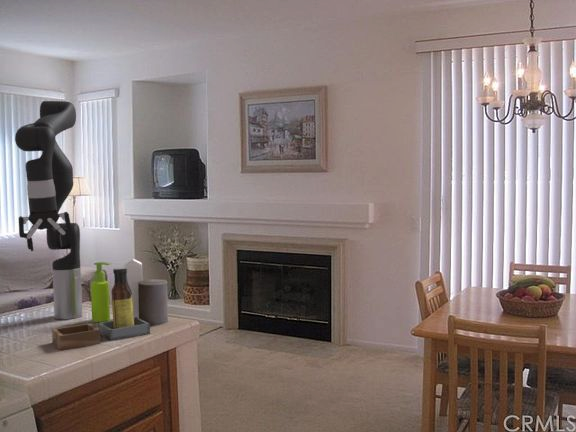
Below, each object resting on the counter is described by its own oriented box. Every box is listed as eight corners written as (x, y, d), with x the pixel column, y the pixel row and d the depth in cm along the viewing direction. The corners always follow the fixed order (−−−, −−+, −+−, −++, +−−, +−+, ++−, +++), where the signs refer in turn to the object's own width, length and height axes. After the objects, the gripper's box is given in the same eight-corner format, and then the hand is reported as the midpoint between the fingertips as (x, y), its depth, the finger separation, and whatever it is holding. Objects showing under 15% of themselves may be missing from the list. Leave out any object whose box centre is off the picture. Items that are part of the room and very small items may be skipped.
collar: (52, 342, 166) (51, 329, 166) (90, 336, 173) (89, 323, 172) (60, 350, 158) (60, 336, 158) (100, 343, 165) (99, 329, 164)
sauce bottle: (138, 330, 176) (136, 267, 175) (122, 335, 171) (120, 270, 170) (124, 327, 180) (122, 266, 179) (108, 332, 175) (106, 268, 173)
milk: (126, 320, 192) (123, 256, 191) (125, 316, 198) (123, 254, 197) (144, 319, 194) (141, 255, 193) (143, 315, 200) (141, 253, 199)
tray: (98, 332, 177) (98, 322, 177) (136, 326, 184) (136, 317, 184) (110, 340, 168) (109, 330, 167) (150, 333, 175) (149, 323, 174)
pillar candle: (132, 323, 187) (131, 279, 186) (151, 317, 196) (150, 274, 195) (156, 327, 183) (155, 281, 182) (174, 320, 192) (173, 276, 191)
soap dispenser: (107, 322, 190) (105, 263, 189) (88, 321, 191) (86, 263, 190) (115, 318, 196) (114, 261, 195) (97, 317, 197) (95, 261, 196)
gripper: (65, 191, 172) (71, 243, 175) (14, 195, 166) (20, 249, 169) (69, 194, 166) (74, 247, 169) (15, 198, 159) (22, 254, 162)
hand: (47, 248), depth 169 cm, fingers open, 8 cm apart
